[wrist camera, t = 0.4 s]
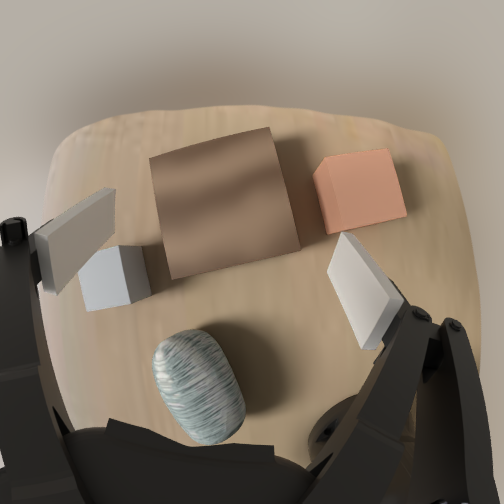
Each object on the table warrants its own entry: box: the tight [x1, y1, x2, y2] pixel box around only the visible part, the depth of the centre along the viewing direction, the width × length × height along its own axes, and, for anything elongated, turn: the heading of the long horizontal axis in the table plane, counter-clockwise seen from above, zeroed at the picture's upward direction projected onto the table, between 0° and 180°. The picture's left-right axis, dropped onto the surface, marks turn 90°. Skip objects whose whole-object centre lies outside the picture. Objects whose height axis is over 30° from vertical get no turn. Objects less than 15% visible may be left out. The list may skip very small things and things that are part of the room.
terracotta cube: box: [312, 148, 407, 235], centre depth 28 cm, size 7×7×7 cm
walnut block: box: [149, 127, 301, 280], centre depth 30 cm, size 13×13×5 cm
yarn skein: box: [152, 329, 246, 445], centre depth 28 cm, size 14×10×10 cm
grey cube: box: [78, 245, 152, 312], centre depth 29 cm, size 6×6×6 cm
